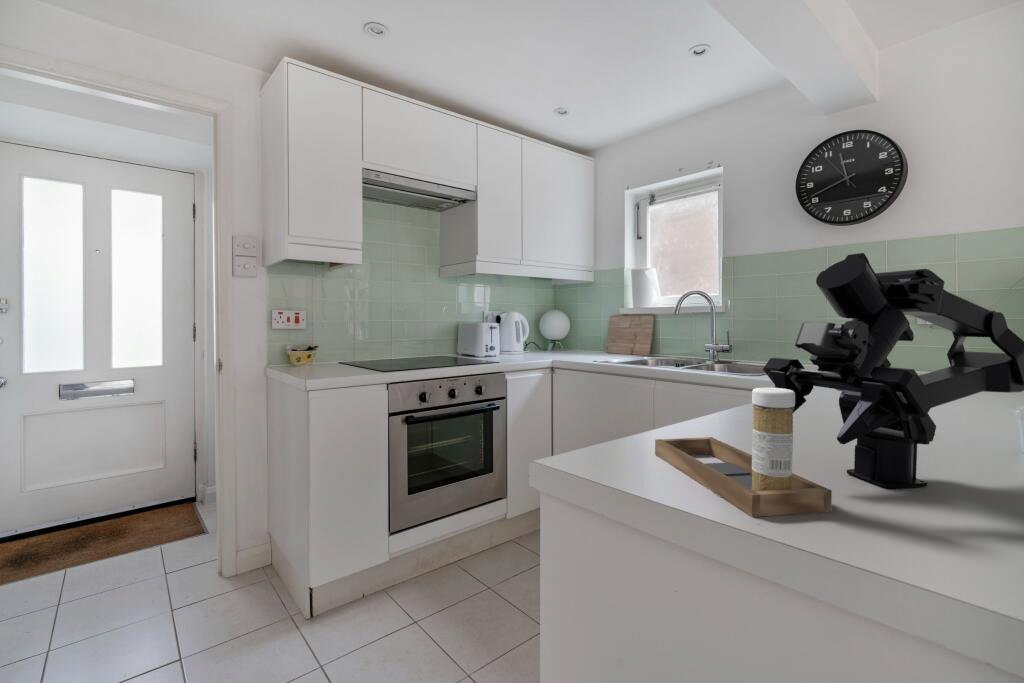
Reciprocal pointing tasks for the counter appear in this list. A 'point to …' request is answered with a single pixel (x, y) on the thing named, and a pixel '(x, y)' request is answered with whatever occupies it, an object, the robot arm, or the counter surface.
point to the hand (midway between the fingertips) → (803, 433)
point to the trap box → (753, 503)
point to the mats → (733, 473)
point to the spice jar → (772, 438)
